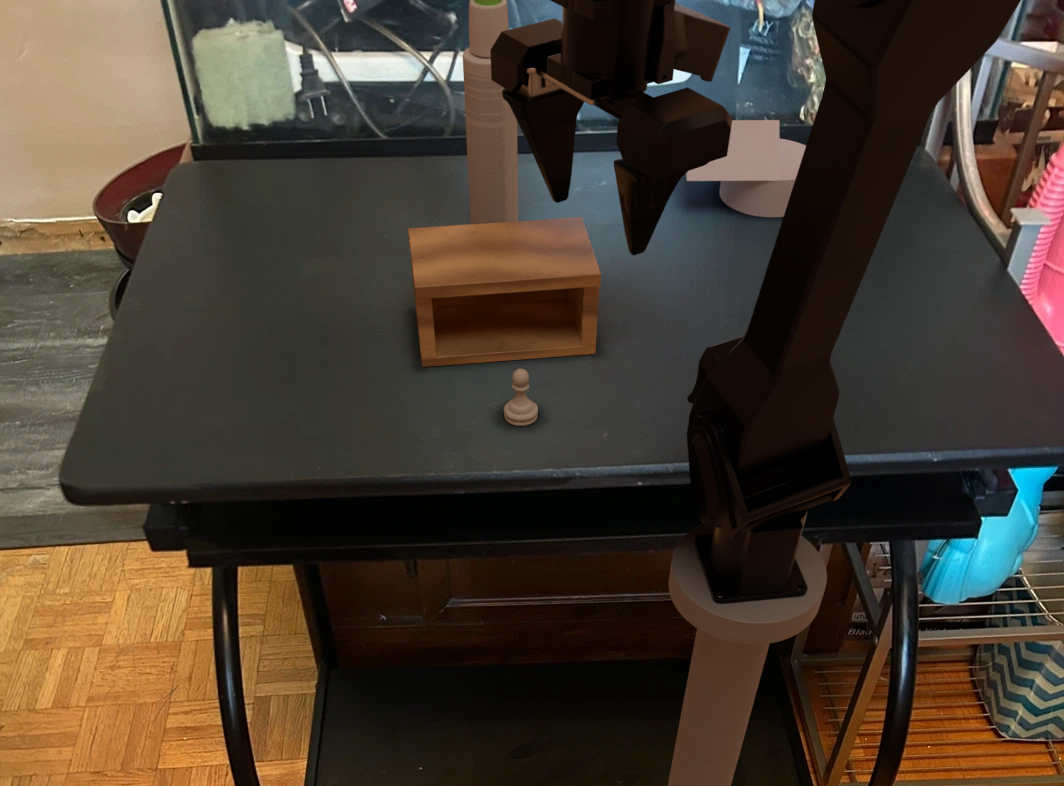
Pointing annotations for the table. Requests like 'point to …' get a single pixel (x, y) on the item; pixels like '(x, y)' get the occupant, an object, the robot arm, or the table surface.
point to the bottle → (489, 121)
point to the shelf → (504, 291)
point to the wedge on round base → (755, 169)
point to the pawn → (520, 402)
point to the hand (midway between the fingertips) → (597, 226)
